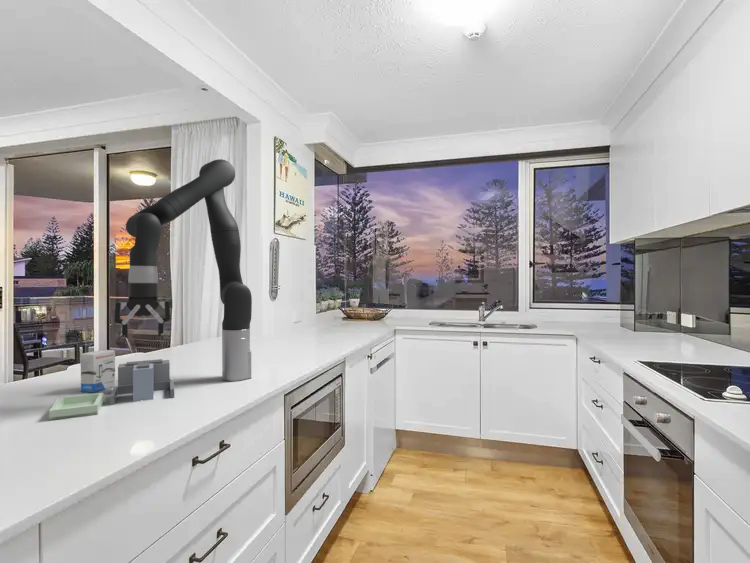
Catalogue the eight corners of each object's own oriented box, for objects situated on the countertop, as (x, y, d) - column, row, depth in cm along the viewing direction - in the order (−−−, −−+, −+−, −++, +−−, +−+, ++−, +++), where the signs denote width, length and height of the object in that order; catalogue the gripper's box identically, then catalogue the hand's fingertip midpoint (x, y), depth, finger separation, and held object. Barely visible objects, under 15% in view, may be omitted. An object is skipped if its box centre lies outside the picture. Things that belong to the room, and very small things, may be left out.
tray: (103, 401, 118) (103, 392, 118) (97, 414, 107) (97, 405, 107) (60, 406, 114) (60, 397, 114) (49, 420, 102) (49, 410, 102)
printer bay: (172, 383, 138) (172, 357, 137) (174, 397, 122) (174, 368, 122) (116, 389, 130) (115, 362, 130) (109, 405, 114) (109, 374, 114)
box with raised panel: (153, 392, 127) (153, 361, 127) (153, 399, 120) (152, 366, 120) (134, 394, 125) (134, 363, 125) (133, 401, 118) (132, 368, 118)
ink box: (93, 393, 127) (93, 354, 127) (79, 392, 128) (79, 354, 128) (116, 385, 135) (116, 349, 135) (103, 385, 136) (103, 349, 136)
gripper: (170, 281, 129) (169, 333, 129) (116, 281, 122) (116, 336, 122) (170, 281, 122) (170, 336, 122) (113, 281, 116) (113, 339, 116)
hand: (143, 336), depth 122 cm, fingers open, 8 cm apart
